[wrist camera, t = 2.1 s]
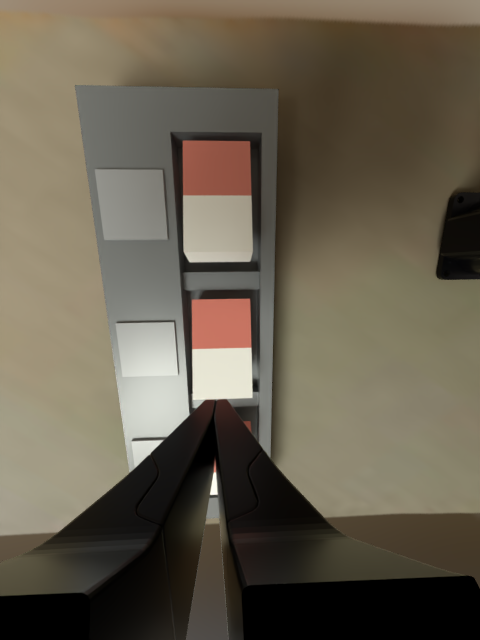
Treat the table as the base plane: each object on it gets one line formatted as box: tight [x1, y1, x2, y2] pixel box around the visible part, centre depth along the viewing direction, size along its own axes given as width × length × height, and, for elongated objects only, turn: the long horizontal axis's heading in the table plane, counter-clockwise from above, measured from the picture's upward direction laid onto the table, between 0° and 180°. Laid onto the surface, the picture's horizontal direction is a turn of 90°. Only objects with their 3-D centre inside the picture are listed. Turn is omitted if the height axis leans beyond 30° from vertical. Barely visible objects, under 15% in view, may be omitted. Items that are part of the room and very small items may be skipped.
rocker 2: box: [192, 299, 253, 400], centre depth 16 cm, size 4×6×2 cm, turn 0°
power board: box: [75, 85, 279, 518], centre depth 17 cm, size 11×30×4 cm, turn 1°
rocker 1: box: [183, 141, 253, 262], centre depth 14 cm, size 4×6×2 cm, turn 1°
